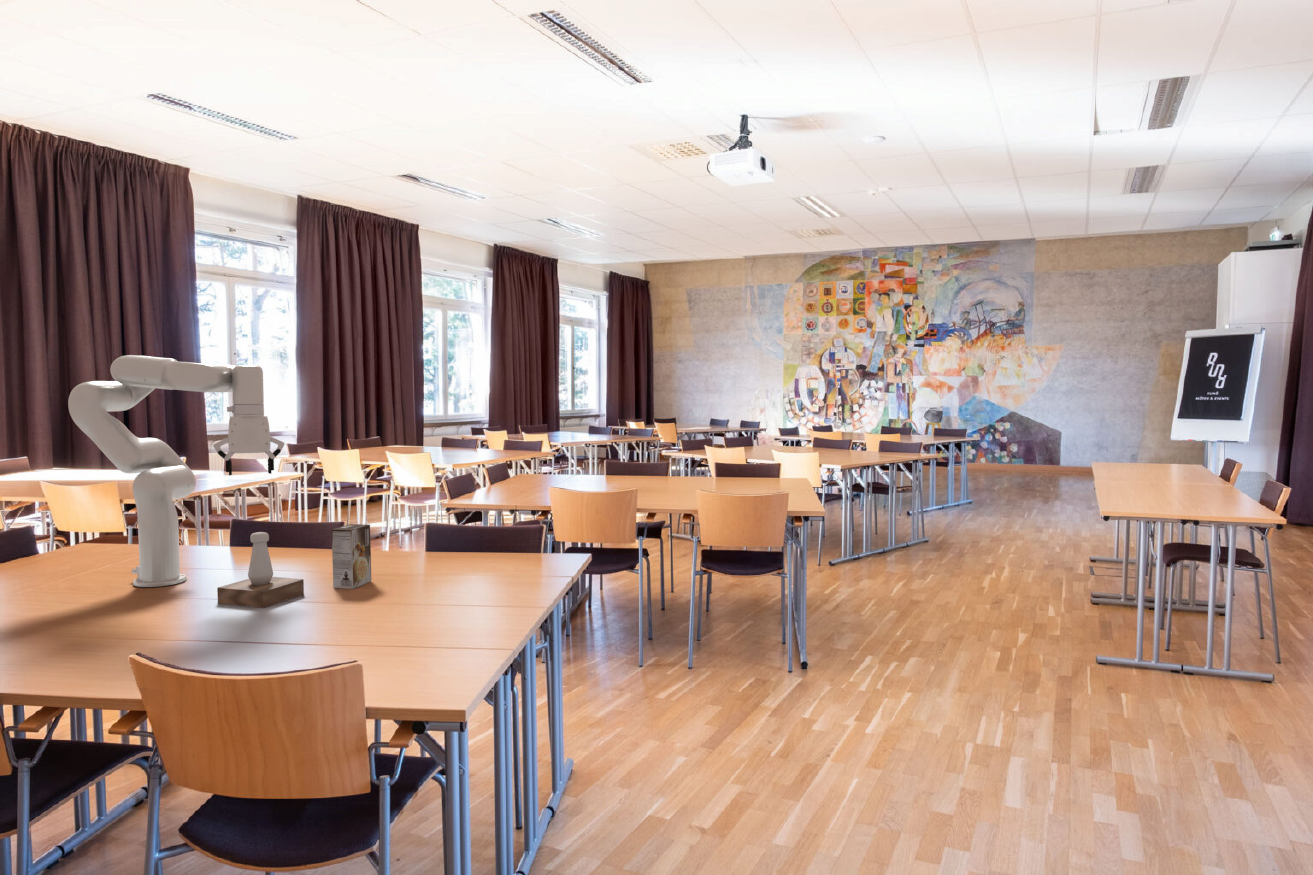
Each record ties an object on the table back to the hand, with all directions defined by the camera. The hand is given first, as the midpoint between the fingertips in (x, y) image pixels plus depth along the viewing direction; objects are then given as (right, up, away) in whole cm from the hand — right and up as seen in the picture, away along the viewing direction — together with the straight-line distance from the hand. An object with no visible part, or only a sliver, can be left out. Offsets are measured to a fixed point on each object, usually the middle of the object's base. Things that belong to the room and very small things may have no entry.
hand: (250, 474), depth 225 cm
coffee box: (+27, -31, +2) cm, 41 cm away
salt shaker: (+10, -27, -14) cm, 32 cm away
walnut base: (+10, -31, -14) cm, 35 cm away
